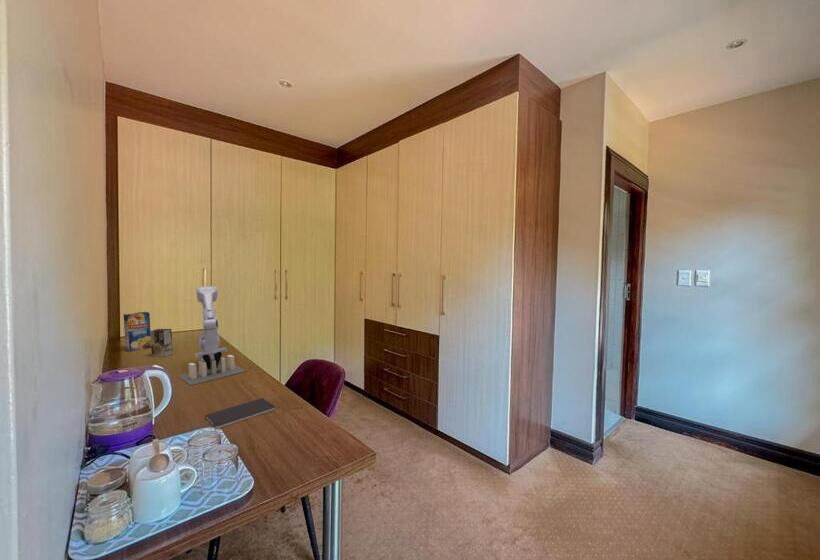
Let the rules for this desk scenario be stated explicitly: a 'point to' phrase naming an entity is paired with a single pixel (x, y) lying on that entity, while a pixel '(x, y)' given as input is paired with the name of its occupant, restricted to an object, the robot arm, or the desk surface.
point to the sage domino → (212, 366)
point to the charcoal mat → (210, 375)
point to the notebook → (239, 412)
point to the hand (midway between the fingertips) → (212, 368)
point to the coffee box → (161, 342)
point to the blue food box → (137, 331)
